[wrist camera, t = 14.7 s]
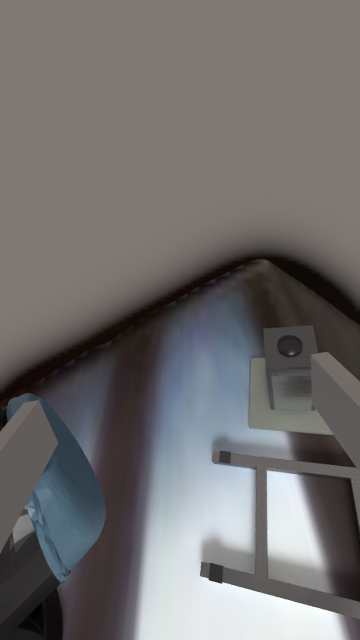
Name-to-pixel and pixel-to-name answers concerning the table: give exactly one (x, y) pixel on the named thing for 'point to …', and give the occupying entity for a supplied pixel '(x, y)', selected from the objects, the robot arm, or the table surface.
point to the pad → (278, 419)
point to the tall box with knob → (289, 366)
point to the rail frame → (260, 579)
